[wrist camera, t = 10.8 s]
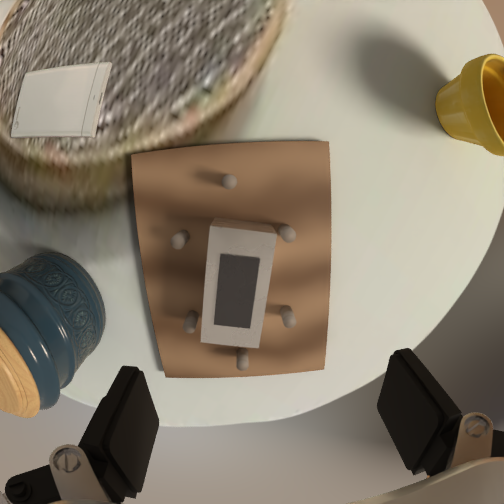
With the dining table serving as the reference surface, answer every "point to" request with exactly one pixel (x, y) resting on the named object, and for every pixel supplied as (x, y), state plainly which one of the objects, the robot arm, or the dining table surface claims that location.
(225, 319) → the block
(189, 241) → the wooden peg board
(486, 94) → the plant pot
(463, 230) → the dining table surface
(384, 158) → the dining table surface
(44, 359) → the canister
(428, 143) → the dining table surface
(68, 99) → the hard drive
